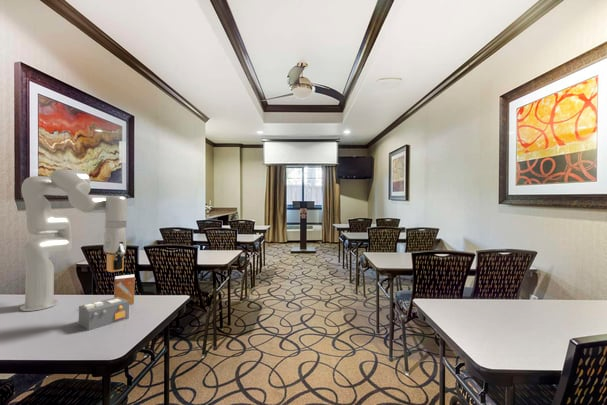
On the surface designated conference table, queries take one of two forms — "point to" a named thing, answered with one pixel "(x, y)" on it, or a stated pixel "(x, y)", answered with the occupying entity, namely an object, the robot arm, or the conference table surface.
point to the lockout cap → (112, 263)
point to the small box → (125, 287)
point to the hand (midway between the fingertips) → (115, 268)
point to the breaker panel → (103, 313)
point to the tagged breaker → (114, 301)
